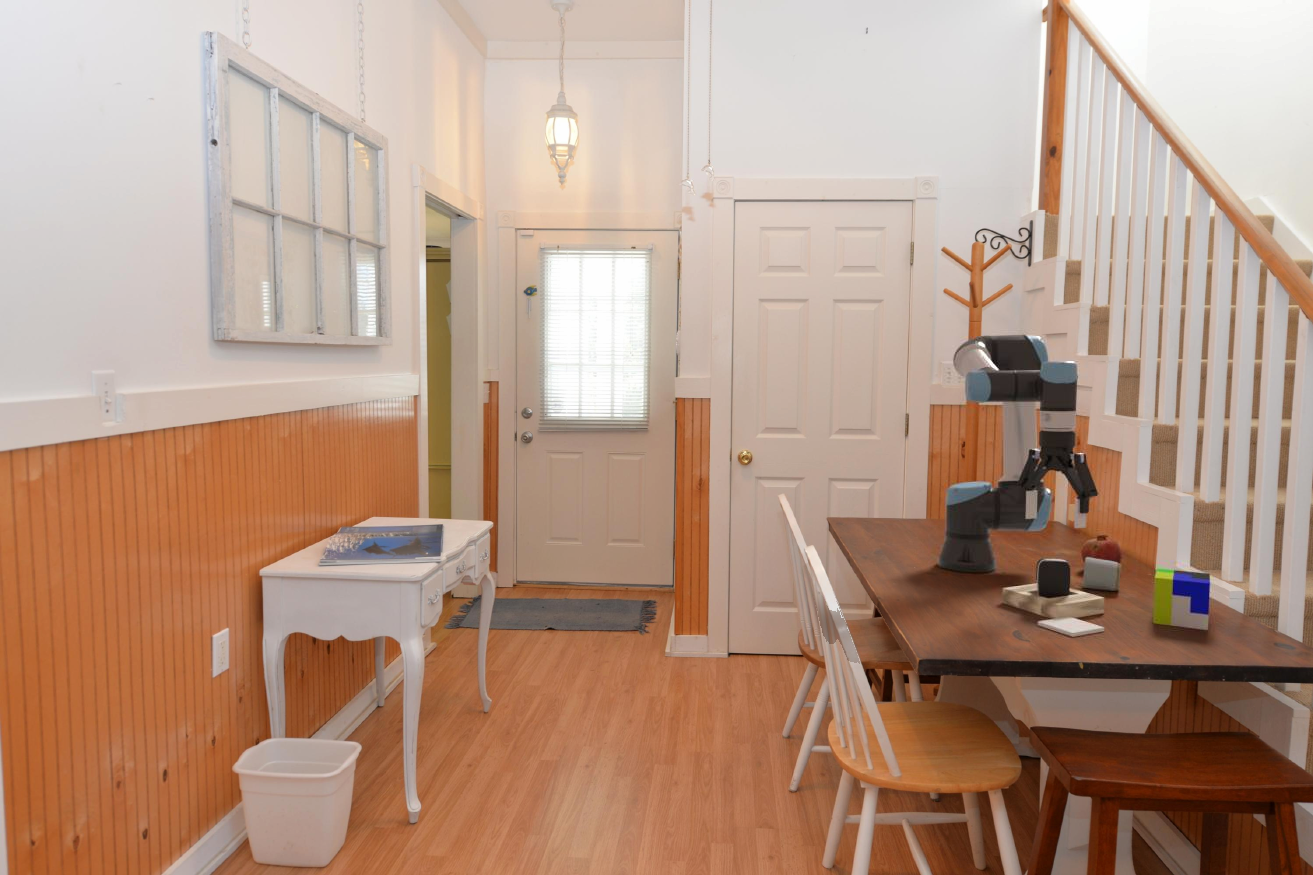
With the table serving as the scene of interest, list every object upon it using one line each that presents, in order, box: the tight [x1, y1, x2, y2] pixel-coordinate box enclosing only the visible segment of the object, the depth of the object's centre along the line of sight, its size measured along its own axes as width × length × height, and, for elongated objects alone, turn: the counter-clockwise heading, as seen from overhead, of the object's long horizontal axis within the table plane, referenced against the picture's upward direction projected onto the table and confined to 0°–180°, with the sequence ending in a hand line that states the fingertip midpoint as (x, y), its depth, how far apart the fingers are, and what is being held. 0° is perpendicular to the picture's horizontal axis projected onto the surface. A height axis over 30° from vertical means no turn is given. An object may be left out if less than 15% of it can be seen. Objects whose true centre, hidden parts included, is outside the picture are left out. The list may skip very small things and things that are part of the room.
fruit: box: [1081, 534, 1123, 565], centre depth 234 cm, size 11×10×10 cm
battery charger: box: [1035, 558, 1071, 599], centre depth 200 cm, size 7×4×11 cm, turn 80°
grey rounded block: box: [1082, 557, 1122, 592], centre depth 218 cm, size 11×8×8 cm
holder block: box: [1002, 582, 1106, 619], centre depth 201 cm, size 16×14×4 cm
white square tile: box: [1037, 616, 1105, 638], centre depth 185 cm, size 9×9×1 cm
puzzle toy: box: [1152, 568, 1211, 631], centre depth 190 cm, size 10×10×10 cm
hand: (1054, 523), depth 199 cm, fingers open, 13 cm apart
